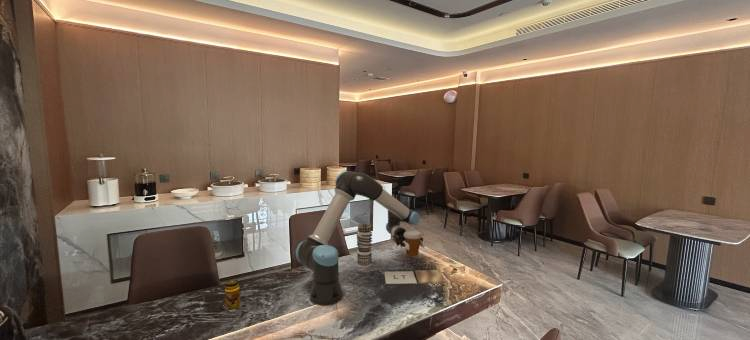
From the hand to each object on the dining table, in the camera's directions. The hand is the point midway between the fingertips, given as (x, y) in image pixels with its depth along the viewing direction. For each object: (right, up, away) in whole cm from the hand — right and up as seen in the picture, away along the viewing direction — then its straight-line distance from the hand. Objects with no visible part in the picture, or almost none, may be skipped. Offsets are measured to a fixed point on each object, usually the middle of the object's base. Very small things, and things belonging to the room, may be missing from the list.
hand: (416, 246), depth 164 cm
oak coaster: (+8, -18, +6) cm, 20 cm away
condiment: (-85, -22, -23) cm, 91 cm away
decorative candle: (-28, -16, +23) cm, 39 cm away
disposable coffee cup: (-1, -6, +5) cm, 8 cm away
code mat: (-8, -18, +5) cm, 20 cm away
